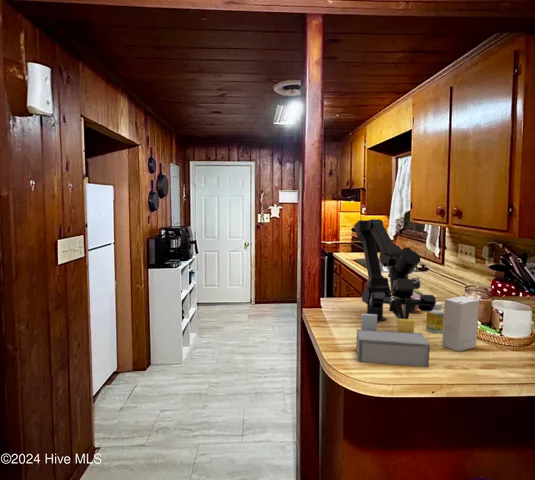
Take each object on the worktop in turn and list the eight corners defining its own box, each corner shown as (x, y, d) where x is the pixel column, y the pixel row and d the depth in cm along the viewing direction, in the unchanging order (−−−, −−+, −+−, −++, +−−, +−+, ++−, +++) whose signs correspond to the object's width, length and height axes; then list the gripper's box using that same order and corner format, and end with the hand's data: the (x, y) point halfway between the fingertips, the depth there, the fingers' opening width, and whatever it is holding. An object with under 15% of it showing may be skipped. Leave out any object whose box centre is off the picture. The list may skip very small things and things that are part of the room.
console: (356, 349, 113) (357, 329, 113) (420, 353, 110) (421, 333, 110) (358, 361, 104) (359, 340, 104) (428, 366, 102) (429, 344, 101)
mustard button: (396, 344, 114) (397, 318, 114) (411, 345, 114) (413, 319, 113) (402, 357, 105) (403, 328, 104) (419, 358, 104) (420, 329, 104)
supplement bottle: (431, 327, 135) (433, 300, 134) (446, 331, 131) (447, 303, 130) (422, 329, 132) (424, 302, 131) (436, 334, 128) (438, 305, 127)
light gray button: (360, 338, 119) (361, 313, 118) (375, 339, 119) (376, 314, 118) (363, 350, 110) (364, 322, 109) (379, 351, 109) (380, 323, 108)
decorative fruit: (424, 310, 156) (425, 286, 155) (420, 315, 149) (421, 290, 148) (400, 307, 161) (401, 283, 160) (395, 311, 154) (396, 287, 153)
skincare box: (459, 341, 121) (462, 295, 119) (477, 348, 115) (480, 299, 114) (440, 345, 117) (443, 297, 116) (458, 352, 112) (461, 302, 110)
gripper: (372, 266, 119) (375, 311, 109) (436, 268, 116) (445, 314, 106) (368, 286, 127) (371, 329, 118) (428, 288, 125) (435, 333, 115)
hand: (404, 326), depth 114 cm, fingers closed, pressing on mustard button
